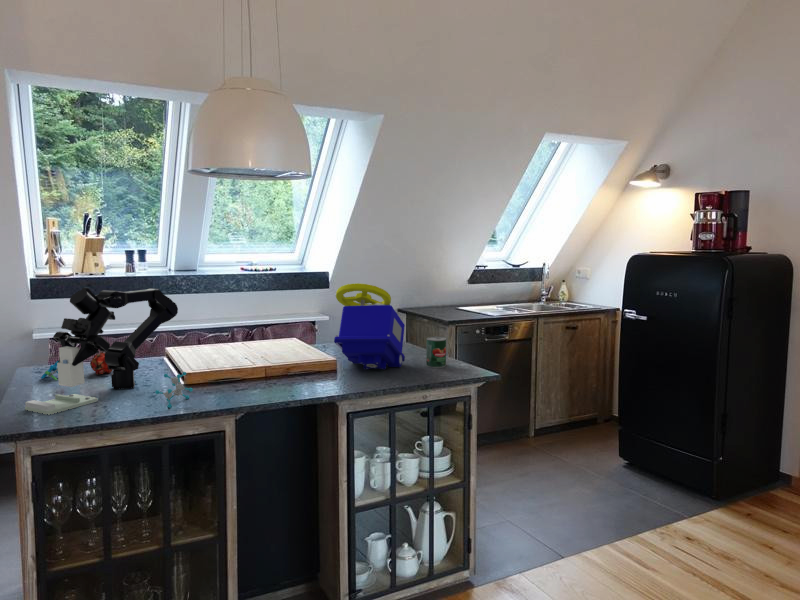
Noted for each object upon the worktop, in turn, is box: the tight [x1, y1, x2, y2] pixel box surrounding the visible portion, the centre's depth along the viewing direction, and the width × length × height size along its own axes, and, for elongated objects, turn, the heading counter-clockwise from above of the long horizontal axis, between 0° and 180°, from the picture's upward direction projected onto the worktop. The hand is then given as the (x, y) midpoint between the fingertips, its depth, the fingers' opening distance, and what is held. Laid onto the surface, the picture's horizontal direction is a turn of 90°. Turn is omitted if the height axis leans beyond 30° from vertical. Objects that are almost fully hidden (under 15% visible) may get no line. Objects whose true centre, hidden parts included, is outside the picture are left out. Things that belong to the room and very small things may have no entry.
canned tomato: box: [425, 336, 447, 369], centre depth 242 cm, size 8×8×11 cm
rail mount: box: [24, 393, 99, 416], centre depth 186 cm, size 16×11×2 cm
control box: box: [333, 282, 406, 371], centre depth 239 cm, size 26×27×30 cm
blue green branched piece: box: [40, 359, 59, 381], centre depth 219 cm, size 11×6×10 cm
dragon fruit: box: [89, 351, 113, 376], centre depth 226 cm, size 8×8×12 cm
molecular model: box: [154, 371, 194, 409], centre depth 190 cm, size 12×14×15 cm
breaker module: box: [57, 346, 85, 388], centre depth 187 cm, size 5×6×12 cm
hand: (66, 364), depth 186 cm, fingers closed on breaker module, 5 cm apart
